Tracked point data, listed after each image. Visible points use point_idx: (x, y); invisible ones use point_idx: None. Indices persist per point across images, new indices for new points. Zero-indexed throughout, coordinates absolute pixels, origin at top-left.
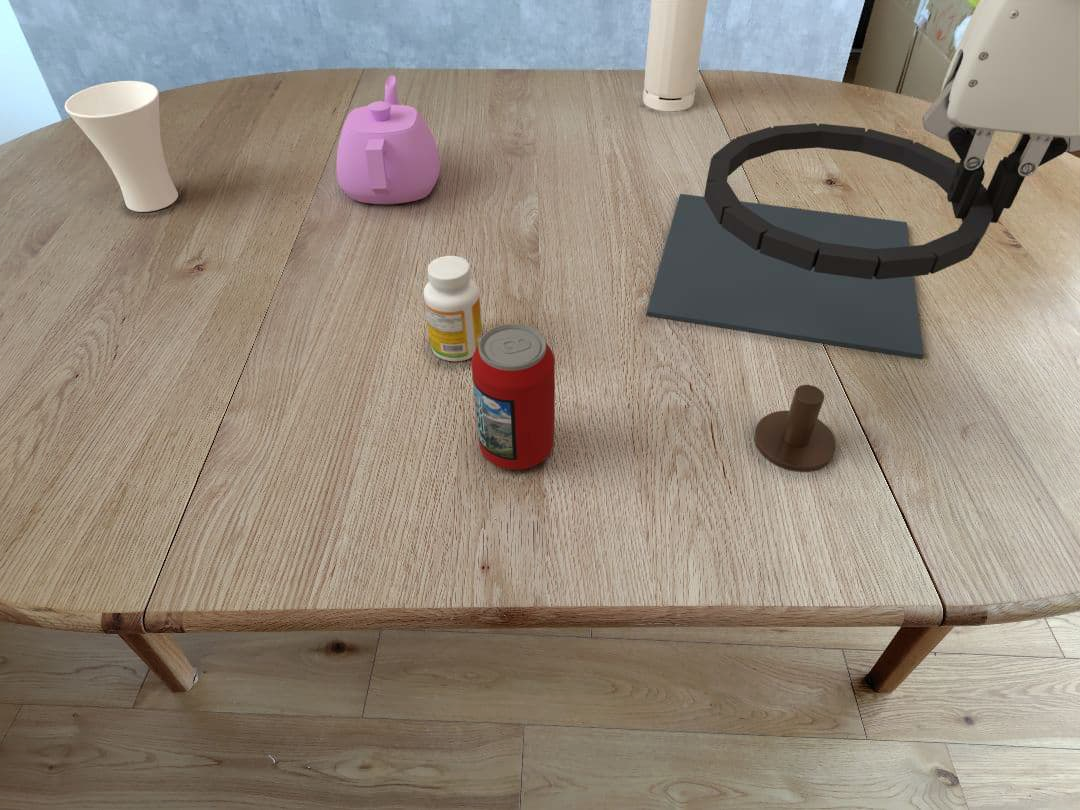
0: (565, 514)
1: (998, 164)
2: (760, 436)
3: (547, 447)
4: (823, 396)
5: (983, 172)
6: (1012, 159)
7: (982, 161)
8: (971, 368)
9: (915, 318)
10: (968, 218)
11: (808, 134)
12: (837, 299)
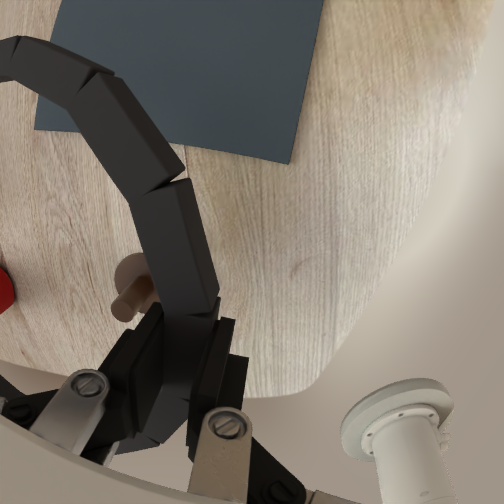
0: (36, 330)
1: (194, 381)
2: (118, 284)
3: (9, 302)
4: (132, 315)
5: (137, 430)
6: (190, 449)
7: (115, 450)
8: (338, 178)
9: (298, 98)
10: (152, 411)
11: None
12: (211, 68)
